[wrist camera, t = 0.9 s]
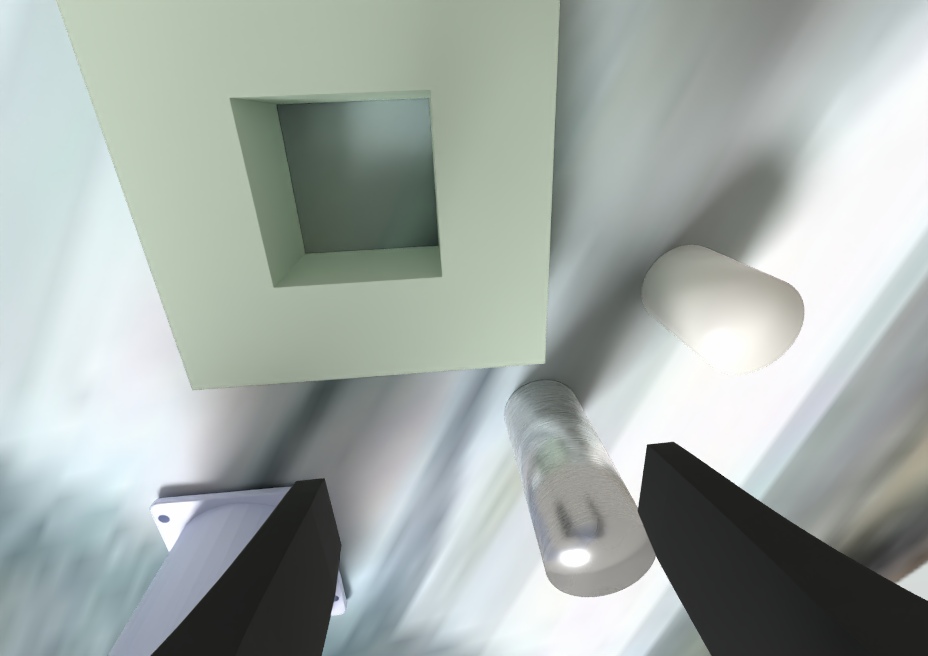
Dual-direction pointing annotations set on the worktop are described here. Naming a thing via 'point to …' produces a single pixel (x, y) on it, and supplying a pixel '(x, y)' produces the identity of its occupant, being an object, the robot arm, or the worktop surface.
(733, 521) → the robot arm
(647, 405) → the worktop surface
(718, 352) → the short pin
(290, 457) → the worktop surface
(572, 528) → the long pin
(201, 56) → the hole block
